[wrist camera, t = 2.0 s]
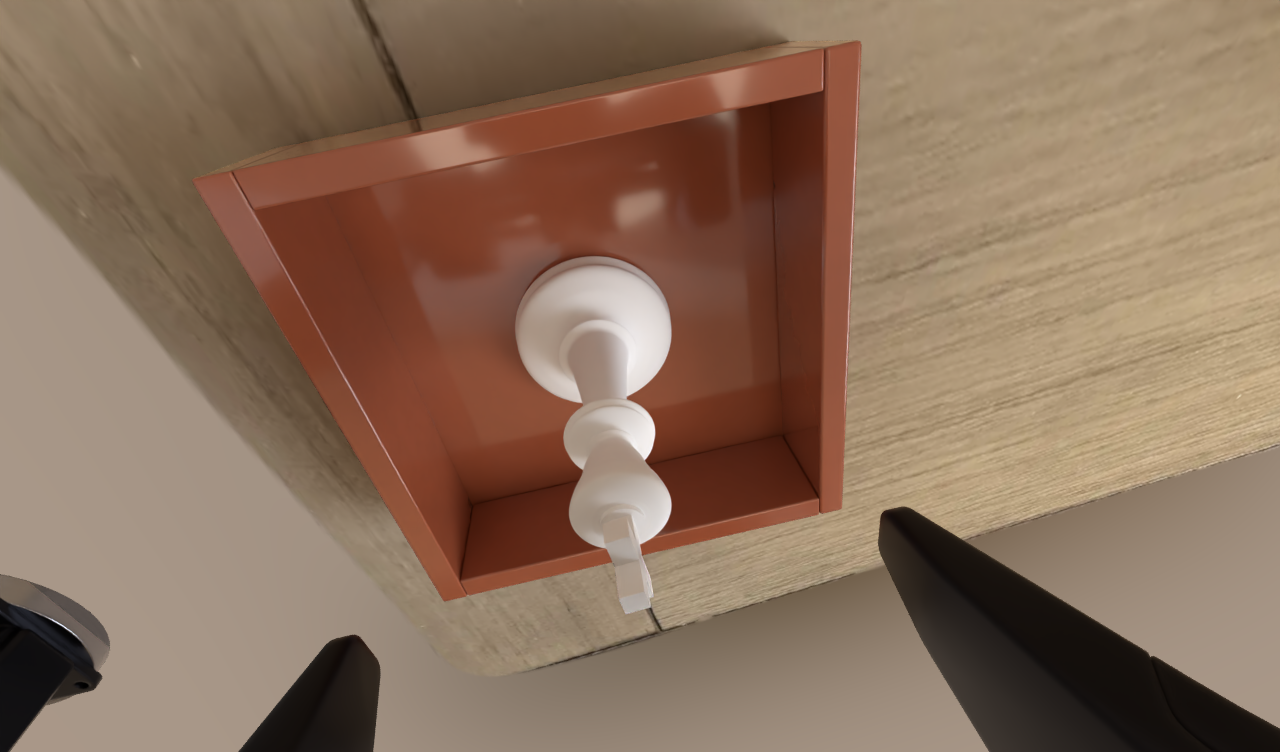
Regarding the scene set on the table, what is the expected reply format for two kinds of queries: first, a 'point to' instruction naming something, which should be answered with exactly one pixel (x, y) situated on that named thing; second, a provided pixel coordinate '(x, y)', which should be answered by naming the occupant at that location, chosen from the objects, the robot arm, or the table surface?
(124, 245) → the table surface
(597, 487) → the chess piece
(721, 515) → the open box
